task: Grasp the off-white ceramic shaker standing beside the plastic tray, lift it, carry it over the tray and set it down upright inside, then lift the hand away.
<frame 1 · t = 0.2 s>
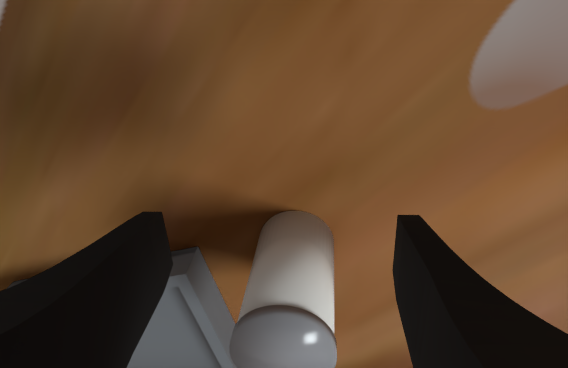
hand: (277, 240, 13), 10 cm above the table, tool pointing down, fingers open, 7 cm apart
shaker: (296, 242, 25), on the table
tray: (146, 339, 30), on the table
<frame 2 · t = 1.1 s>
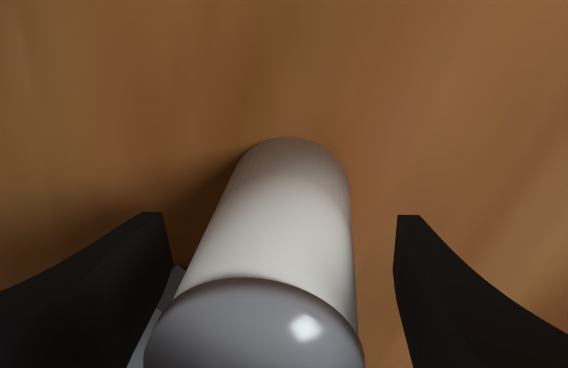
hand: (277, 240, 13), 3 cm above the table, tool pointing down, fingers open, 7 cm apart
shaker: (289, 192, 16), on the table
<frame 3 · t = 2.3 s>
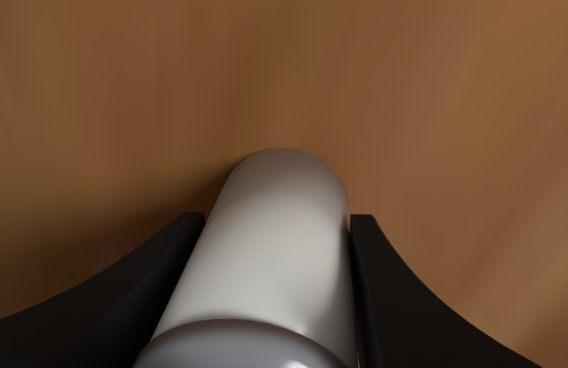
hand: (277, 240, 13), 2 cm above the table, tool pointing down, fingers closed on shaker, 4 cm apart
shaker: (284, 206, 15), on the table, touching gripper
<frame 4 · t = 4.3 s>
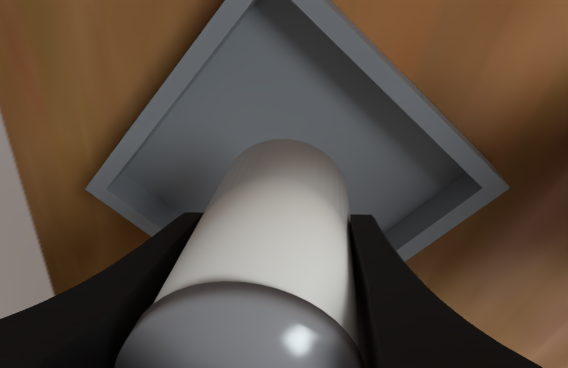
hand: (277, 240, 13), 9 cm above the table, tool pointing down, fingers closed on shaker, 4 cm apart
shaker: (284, 198, 15), point 7 cm above the table, touching gripper
tray: (289, 165, 22), on the table
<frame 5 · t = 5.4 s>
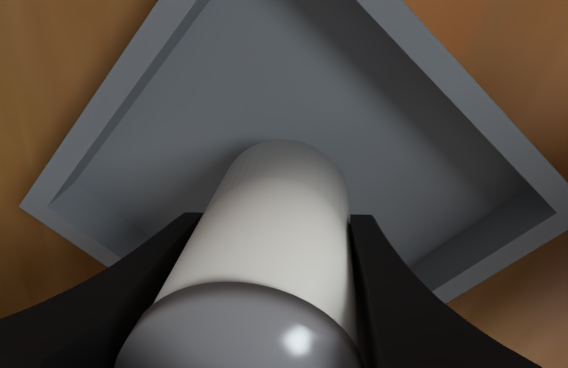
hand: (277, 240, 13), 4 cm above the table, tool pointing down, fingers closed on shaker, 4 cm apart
shaker: (284, 199, 15), point 2 cm above the table, touching gripper
tray: (290, 176, 17), on the table
when the fingers open (4 cm above the table, at t = 6.2 s): shaker drops 1 cm, resting on tray.
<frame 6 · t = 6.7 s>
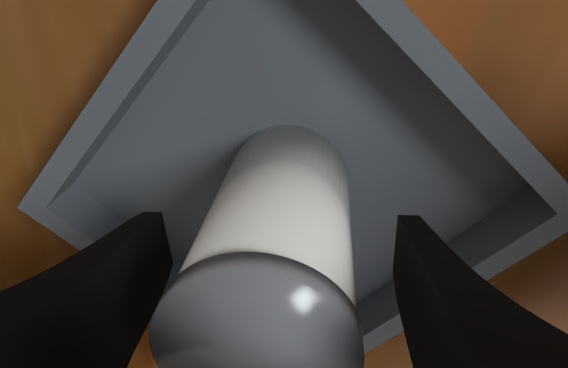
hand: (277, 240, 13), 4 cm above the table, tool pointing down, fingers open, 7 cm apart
shaker: (288, 179, 16), point 1 cm above the table, touching tray
tray: (290, 177, 17), on the table
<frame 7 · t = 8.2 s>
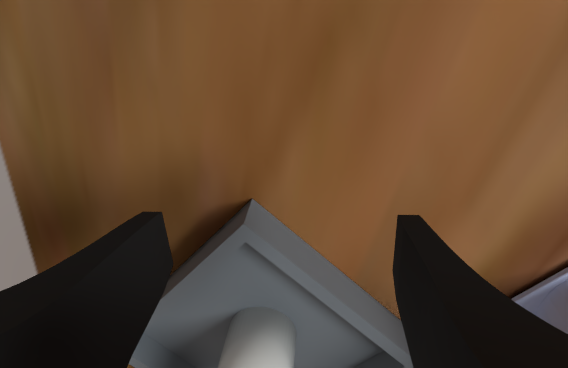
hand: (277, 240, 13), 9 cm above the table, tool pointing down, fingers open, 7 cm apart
shaker: (262, 331, 27), point 1 cm above the table, touching tray
tray: (264, 326, 28), on the table
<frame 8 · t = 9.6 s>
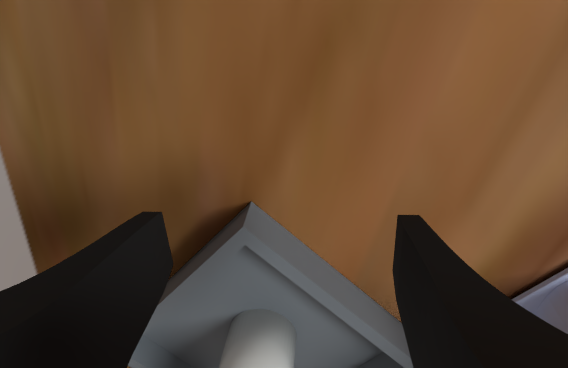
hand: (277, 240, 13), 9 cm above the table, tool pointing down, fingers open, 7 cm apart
shaker: (263, 333, 27), point 1 cm above the table, touching tray
tray: (264, 328, 28), on the table
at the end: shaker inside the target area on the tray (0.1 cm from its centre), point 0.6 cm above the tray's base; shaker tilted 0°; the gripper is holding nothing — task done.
